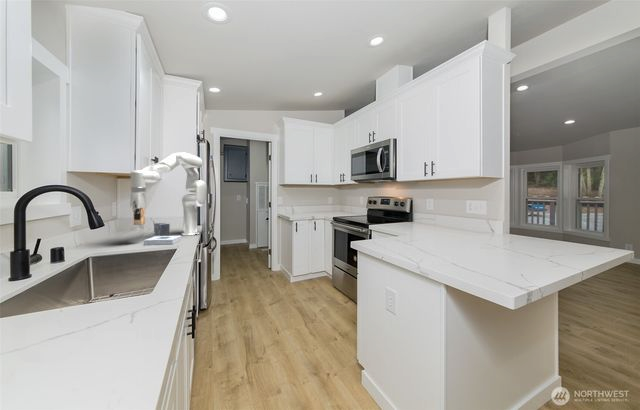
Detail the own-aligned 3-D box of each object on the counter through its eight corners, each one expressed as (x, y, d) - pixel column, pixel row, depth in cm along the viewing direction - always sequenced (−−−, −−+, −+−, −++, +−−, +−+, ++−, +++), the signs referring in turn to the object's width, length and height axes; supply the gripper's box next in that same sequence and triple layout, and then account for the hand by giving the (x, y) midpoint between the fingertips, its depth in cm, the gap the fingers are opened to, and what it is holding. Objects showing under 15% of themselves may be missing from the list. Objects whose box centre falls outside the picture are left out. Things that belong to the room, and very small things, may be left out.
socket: (155, 240, 170) (155, 236, 170) (181, 240, 173) (181, 235, 173) (144, 245, 154) (143, 240, 154) (172, 244, 157) (172, 239, 157)
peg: (137, 224, 162) (136, 208, 161) (145, 223, 163) (144, 208, 162) (133, 224, 158) (133, 209, 157) (141, 224, 158) (141, 208, 158)
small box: (170, 238, 179) (170, 223, 179) (160, 239, 174) (160, 224, 174) (163, 236, 185) (163, 222, 185) (153, 238, 180) (153, 223, 180)
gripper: (138, 190, 166) (139, 218, 167) (124, 190, 150) (125, 221, 151) (151, 190, 168) (152, 217, 169) (138, 190, 151) (139, 220, 152)
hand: (139, 219), depth 160 cm, fingers closed on peg, 4 cm apart
